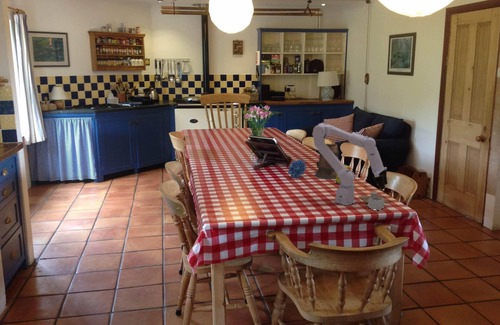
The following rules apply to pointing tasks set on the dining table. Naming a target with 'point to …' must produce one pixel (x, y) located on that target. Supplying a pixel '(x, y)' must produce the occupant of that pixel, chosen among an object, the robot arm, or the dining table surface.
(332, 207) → the dining table surface
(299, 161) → the blue bumpy rounded lump
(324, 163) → the tankard
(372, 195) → the board
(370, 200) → the sleeve
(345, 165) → the supplement box
